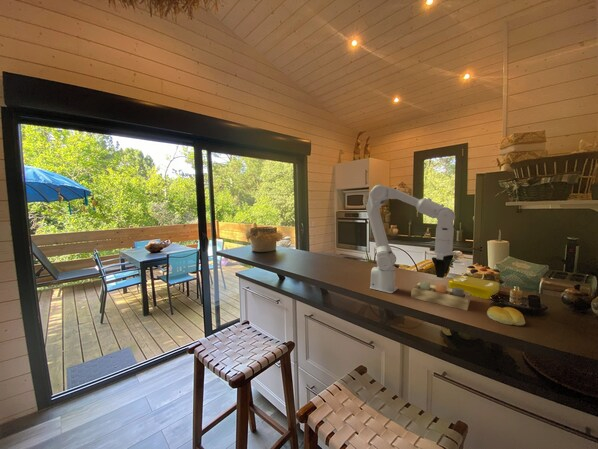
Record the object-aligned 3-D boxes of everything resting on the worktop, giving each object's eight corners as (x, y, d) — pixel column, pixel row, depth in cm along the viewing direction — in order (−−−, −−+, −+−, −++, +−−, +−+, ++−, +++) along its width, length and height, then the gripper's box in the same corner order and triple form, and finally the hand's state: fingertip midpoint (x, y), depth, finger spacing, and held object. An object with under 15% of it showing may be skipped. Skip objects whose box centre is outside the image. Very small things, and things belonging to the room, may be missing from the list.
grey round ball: (451, 298, 89) (451, 289, 89) (452, 296, 92) (453, 287, 92) (462, 301, 87) (463, 291, 87) (463, 298, 90) (464, 289, 90)
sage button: (418, 291, 96) (419, 283, 96) (420, 289, 99) (421, 281, 99) (428, 294, 94) (429, 285, 94) (430, 291, 97) (431, 283, 97)
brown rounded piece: (434, 295, 93) (434, 286, 93) (436, 292, 96) (436, 283, 95) (445, 297, 91) (445, 288, 90) (446, 294, 93) (447, 285, 93)
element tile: (490, 301, 92) (490, 288, 92) (446, 290, 104) (447, 279, 104) (499, 292, 102) (500, 281, 102) (458, 283, 114) (459, 273, 113)
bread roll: (482, 312, 82) (483, 301, 81) (514, 316, 79) (515, 304, 79) (494, 324, 74) (495, 311, 74) (530, 328, 71) (531, 315, 71)
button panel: (411, 297, 94) (411, 290, 94) (418, 289, 103) (419, 282, 103) (467, 310, 83) (467, 301, 83) (470, 300, 92) (470, 292, 92)
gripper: (453, 243, 83) (451, 281, 84) (459, 238, 94) (456, 273, 95) (430, 240, 88) (428, 277, 89) (438, 237, 99) (436, 269, 100)
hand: (442, 275), depth 92 cm, fingers open, 7 cm apart
